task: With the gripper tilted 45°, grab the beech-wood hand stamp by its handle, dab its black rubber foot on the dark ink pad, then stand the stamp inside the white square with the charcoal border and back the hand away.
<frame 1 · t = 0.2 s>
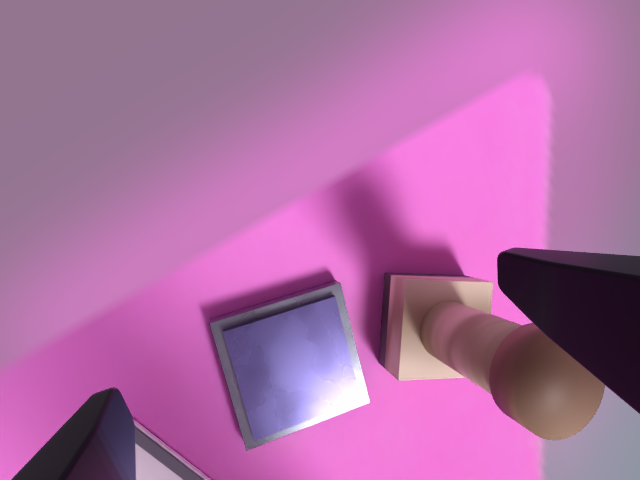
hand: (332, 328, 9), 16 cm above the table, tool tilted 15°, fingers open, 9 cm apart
ink pad: (291, 359, 25), on the table
stamp: (422, 317, 27), on the table
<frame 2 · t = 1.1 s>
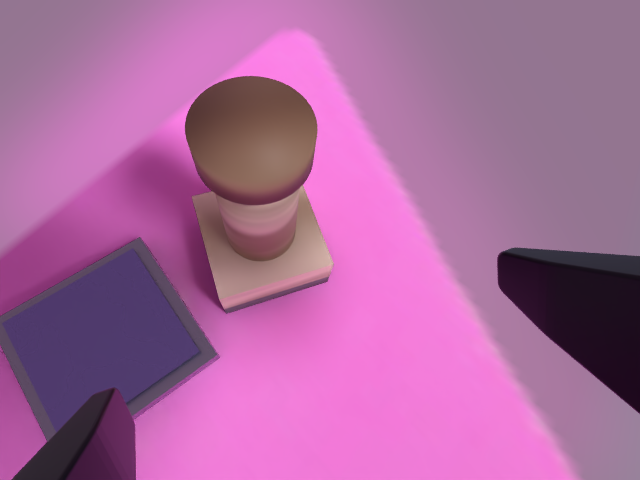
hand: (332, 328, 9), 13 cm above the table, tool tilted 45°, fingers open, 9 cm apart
ink pad: (112, 342, 21), on the table
stamp: (263, 250, 24), on the table
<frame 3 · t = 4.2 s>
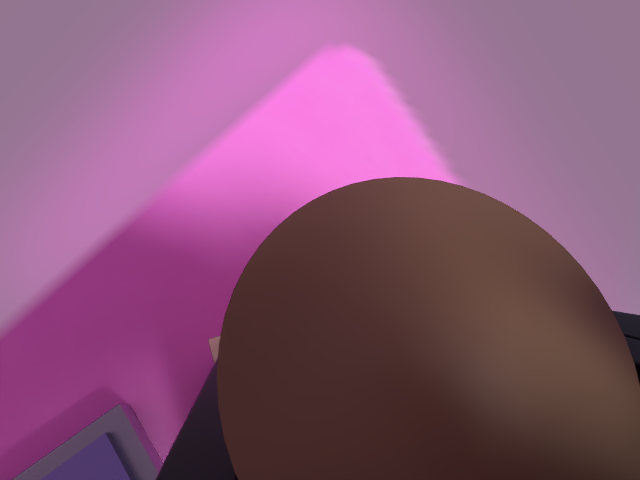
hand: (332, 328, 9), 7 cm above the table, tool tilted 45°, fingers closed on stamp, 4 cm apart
stamp: (324, 407, 14), on the table, touching gripper
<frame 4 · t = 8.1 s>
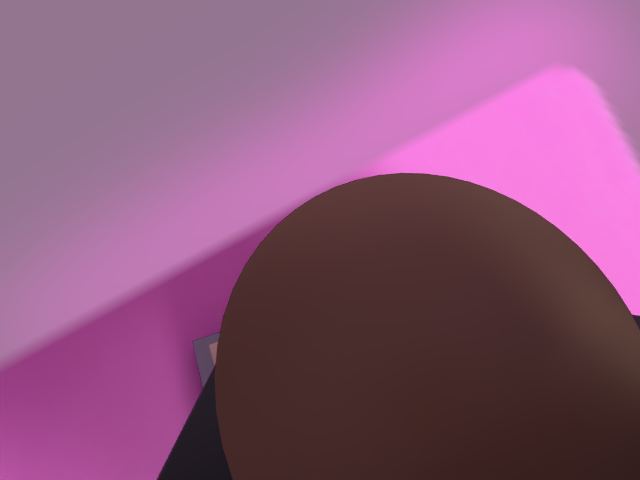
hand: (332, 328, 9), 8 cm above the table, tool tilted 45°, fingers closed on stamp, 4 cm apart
ink pad: (323, 412, 15), on the table
stamp: (328, 414, 14), point 1 cm above the table, touching gripper, ink pad
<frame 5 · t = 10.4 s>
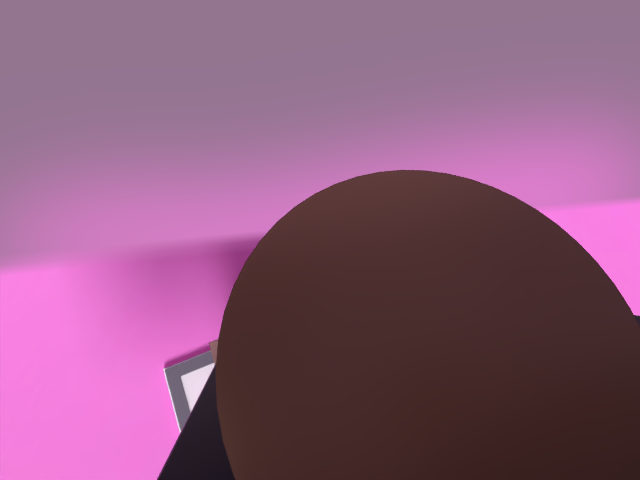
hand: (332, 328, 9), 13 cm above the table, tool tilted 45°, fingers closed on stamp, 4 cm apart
marked square: (289, 424, 20), on the table
stamp: (327, 412, 14), point 7 cm above the table, touching gripper
when the fingers open (8 cm above the table, at t = 12.1 s): stamp drops 2 cm, resting on marked square.
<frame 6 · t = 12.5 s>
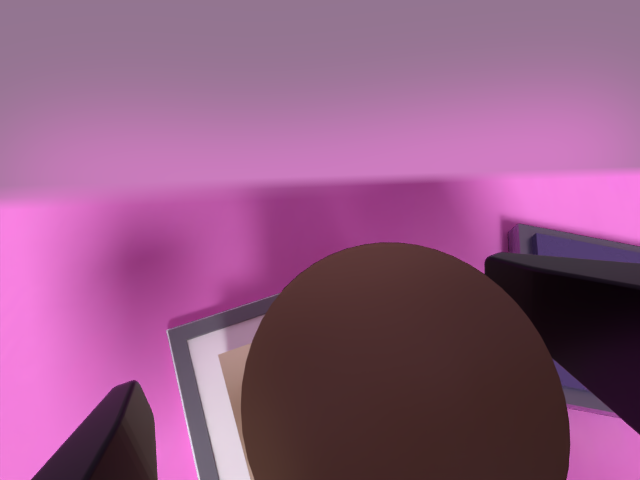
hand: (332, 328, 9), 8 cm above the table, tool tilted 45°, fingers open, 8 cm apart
ink pad: (595, 323, 18), on the table
marked square: (320, 408, 16), on the table
stamp: (324, 414, 15), resting on marked square
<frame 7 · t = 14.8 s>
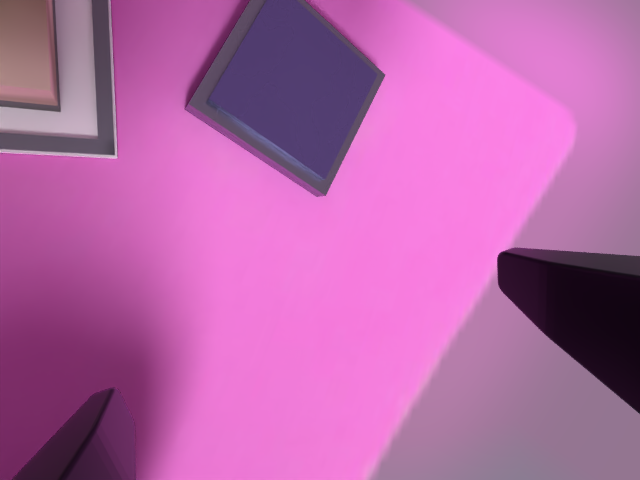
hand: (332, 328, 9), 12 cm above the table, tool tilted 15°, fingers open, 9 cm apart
ink pad: (291, 93, 21), on the table
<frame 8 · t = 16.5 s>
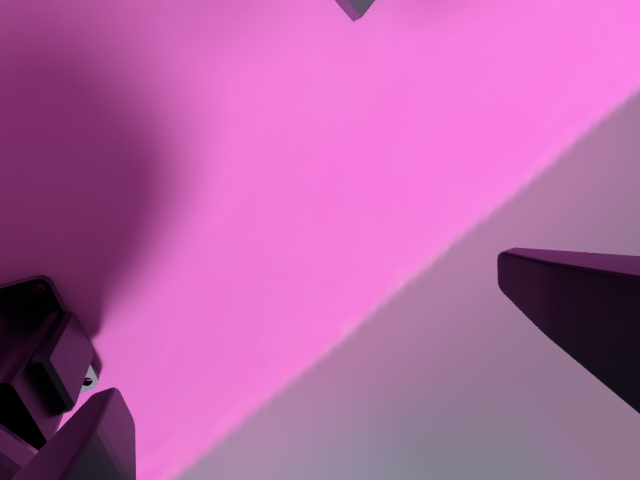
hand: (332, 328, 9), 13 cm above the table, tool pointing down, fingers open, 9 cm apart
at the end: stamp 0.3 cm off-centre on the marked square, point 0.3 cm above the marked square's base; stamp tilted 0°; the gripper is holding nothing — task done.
